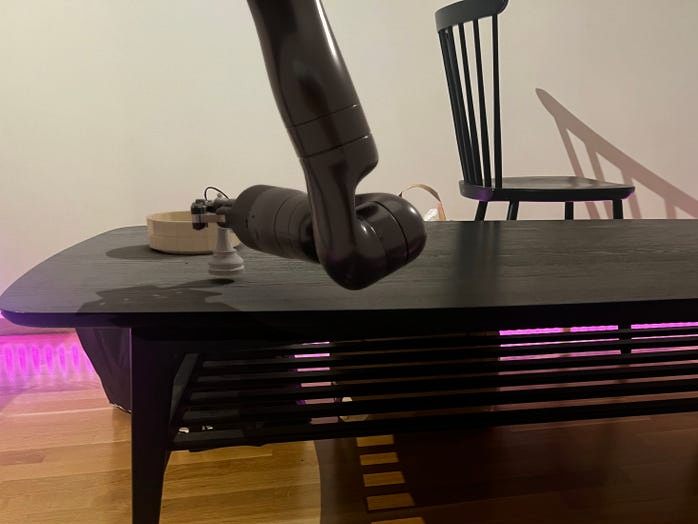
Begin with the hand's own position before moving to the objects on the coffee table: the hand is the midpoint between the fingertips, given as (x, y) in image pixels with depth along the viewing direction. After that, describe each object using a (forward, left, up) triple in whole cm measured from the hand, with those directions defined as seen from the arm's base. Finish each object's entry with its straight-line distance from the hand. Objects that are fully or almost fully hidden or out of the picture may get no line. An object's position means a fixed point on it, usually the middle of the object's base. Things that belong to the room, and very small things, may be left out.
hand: (209, 207), depth 89 cm
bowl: (+7, +21, -9) cm, 24 cm away
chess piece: (0, -3, -8) cm, 9 cm away
